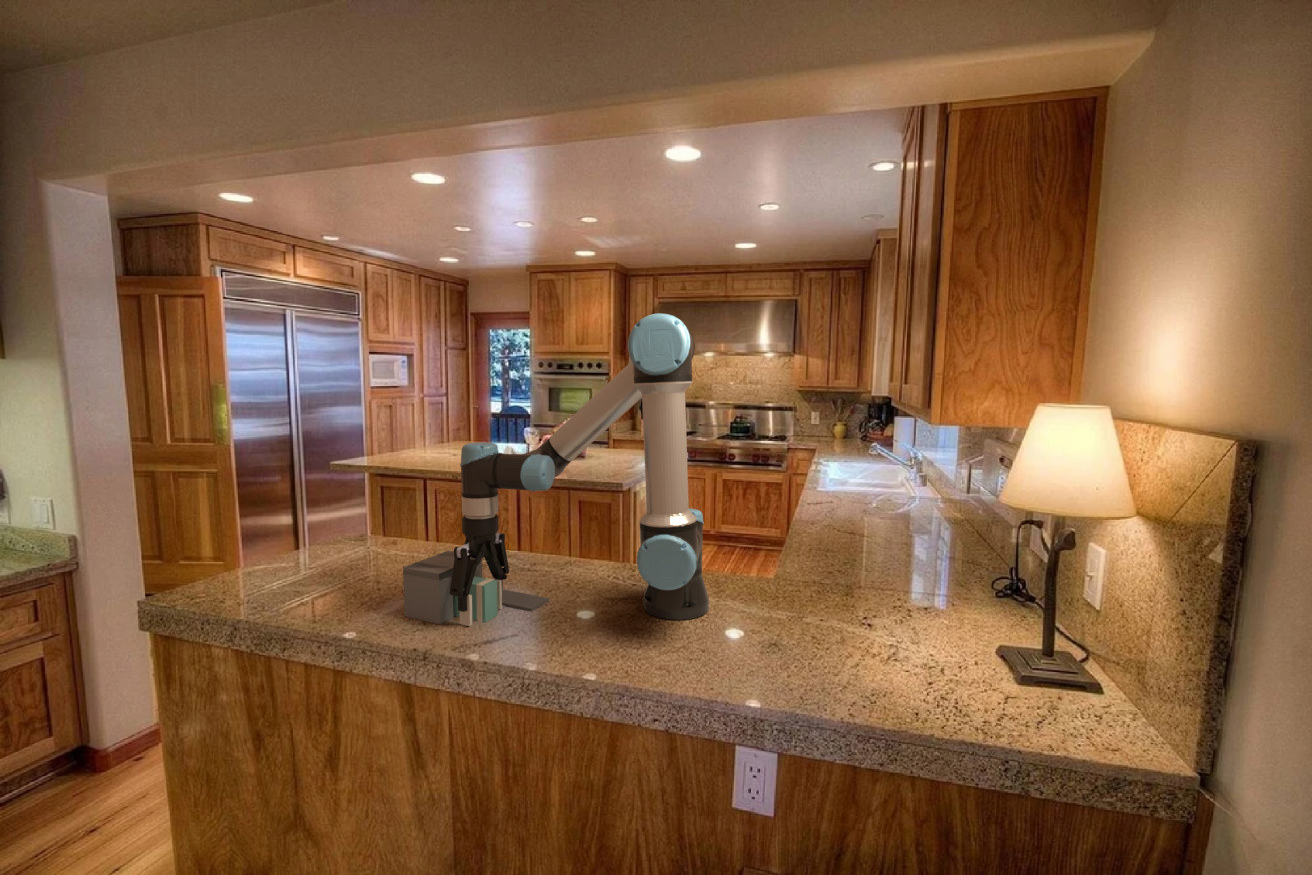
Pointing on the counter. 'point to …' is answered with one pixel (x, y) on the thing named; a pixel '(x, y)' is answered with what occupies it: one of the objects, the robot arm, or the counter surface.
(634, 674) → the counter surface
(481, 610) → the banded gift box
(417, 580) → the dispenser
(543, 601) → the pad
